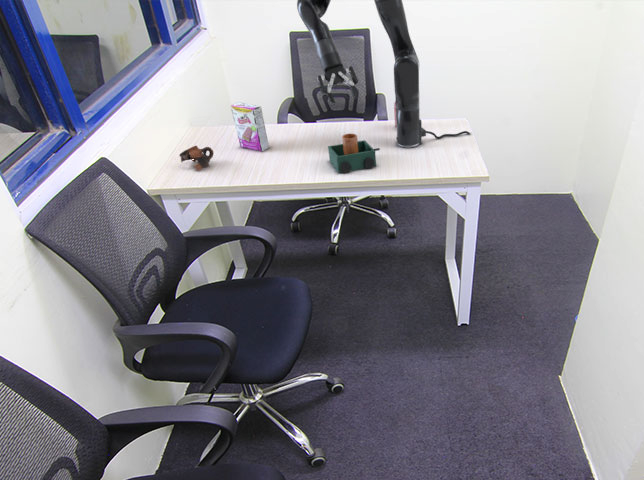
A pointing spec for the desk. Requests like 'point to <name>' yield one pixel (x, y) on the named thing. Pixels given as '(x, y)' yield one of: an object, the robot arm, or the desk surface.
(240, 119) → the candy bar box
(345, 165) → the cart wheels
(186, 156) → the pottery mug
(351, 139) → the orange cup
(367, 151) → the cart
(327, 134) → the desk surface
